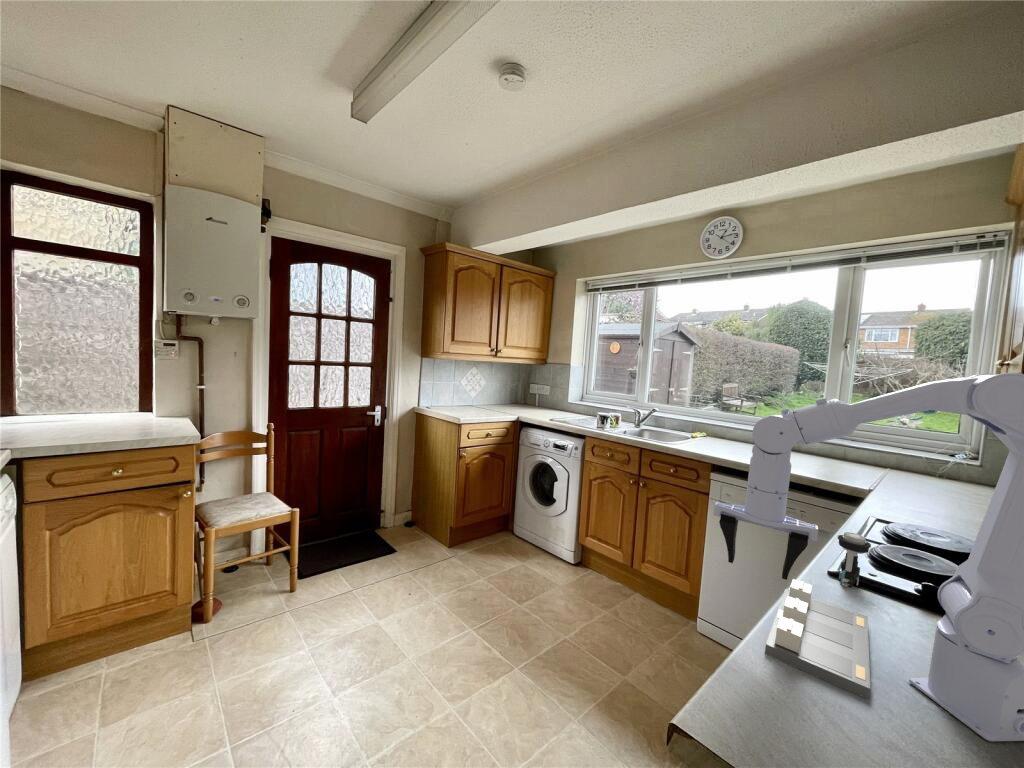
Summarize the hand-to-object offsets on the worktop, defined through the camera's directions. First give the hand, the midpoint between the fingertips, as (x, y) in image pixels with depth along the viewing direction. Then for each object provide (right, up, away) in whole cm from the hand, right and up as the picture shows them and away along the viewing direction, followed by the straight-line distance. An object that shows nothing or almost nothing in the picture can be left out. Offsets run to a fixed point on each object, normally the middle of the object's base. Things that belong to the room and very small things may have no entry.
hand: (757, 568), depth 70 cm
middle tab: (+6, -8, 0) cm, 11 cm away
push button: (+29, -11, +17) cm, 35 cm away
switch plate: (+9, -10, -2) cm, 14 cm away
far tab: (+11, -8, +6) cm, 16 cm away
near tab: (+1, -8, -6) cm, 10 cm away
